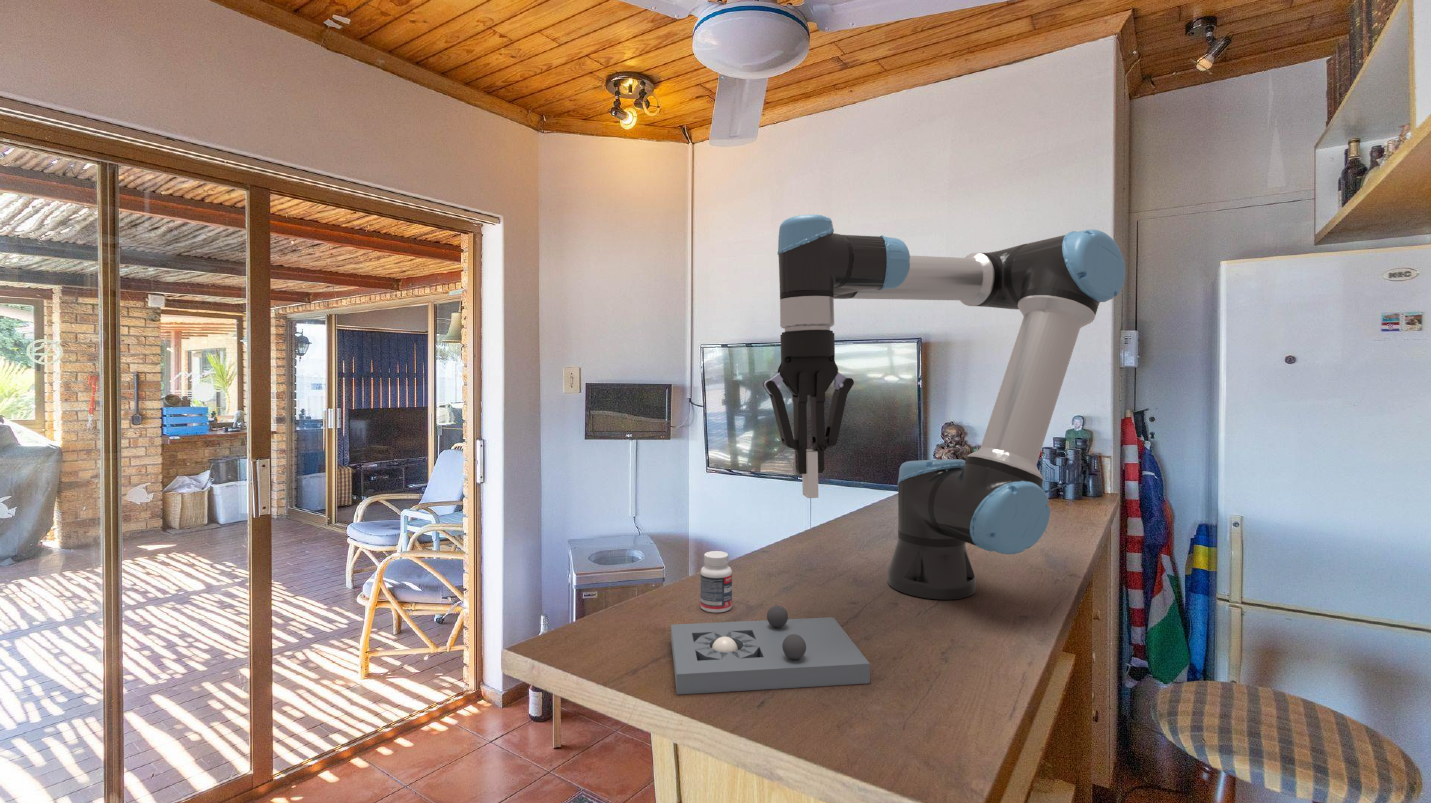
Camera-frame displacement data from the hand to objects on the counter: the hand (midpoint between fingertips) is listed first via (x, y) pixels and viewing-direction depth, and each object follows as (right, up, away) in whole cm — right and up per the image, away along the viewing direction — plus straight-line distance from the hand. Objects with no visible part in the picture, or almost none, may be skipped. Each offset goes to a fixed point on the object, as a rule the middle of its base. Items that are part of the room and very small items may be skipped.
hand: (810, 495), depth 89 cm
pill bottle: (-13, -21, +14) cm, 28 cm away
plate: (-7, -21, -5) cm, 23 cm away
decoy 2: (-4, -18, -10) cm, 21 cm away
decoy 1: (-5, -17, 0) cm, 18 cm away
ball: (-12, -20, -6) cm, 24 cm away
